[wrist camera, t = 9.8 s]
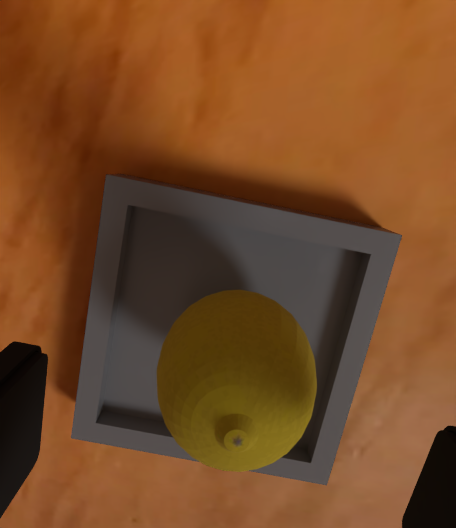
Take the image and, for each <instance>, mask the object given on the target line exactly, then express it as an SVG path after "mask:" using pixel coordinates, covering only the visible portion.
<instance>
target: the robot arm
mask: <svg viewBox="0 0 456 528" xmlns="http://www.w3.org/2000/svg"><path fill="white" fill-rule="evenodd" d="M47 364H48V356H47V354H44V353H42V351H41V348H40V346H36V345H31V344H26V343H21V342H12V343H11V344H9V345H8V346H7V347H6V348H5V349H4V350H2V351H1V352H0V518H1V517H2V515H3V513H4V512H5V510H6V509H7V507H8V506H9V504H10V503H11V501H12V499H13V498H14V496H15V495H16V493H17V492H18V490H19V489H20V487H21V486H22V484H23V482H24V481H25V479H26V478H27V476H28V475H29V473H30V472H31V470H32V468H33V467H34V465H35V463H36V461H37V458H38V455H39V451H40V442H41V431H42V419H43V408H44V397H45V386H46V375H47ZM402 528H456V427H455V426H447V427H446V428H445V429H444V430H441V431H439V432H438V433H437V435H436V437H435V439H434V442H433V444H432V446H431V449H430V451H429V454H428V456H427V459H426V461H425V464H424V466H423V469H422V471H421V474H420V476H419V479H418V481H417V484H416V486H415V489H414V491H413V494H412V496H411V498H410V501H409V503H408V506H407V508H406V511H405V513H404V516H403V519H402Z"/></svg>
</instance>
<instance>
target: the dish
mask: <svg viewBox="0 0 456 528" xmlns="http://www.w3.org/2000/svg"><path fill="white" fill-rule="evenodd" d="M401 237H402V235H400V234H398V233H395V232H392V231H390V230H387V229H385V228H382V227H377V226H372V225H367V224H362V223H357V222H353V221H348V220H343V219H338V218H333V217H328V216H324V215H319V214H314V213H309V212H304V211H299V210H294V209H290V208H285V207H280V206H275V205H270V204H265V203H260V202H256V201H251V200H246V199H241V198H236V197H231V196H226V195H222V194H217V193H212V192H207V191H202V190H197V189H192V188H188V187H183V186H178V185H173V184H168V183H163V182H158V181H154V180H149V179H144V178H139V177H134V176H129V175H125V174H106V179H105V186H104V194H103V201H102V209H101V217H100V224H99V232H98V239H97V247H96V254H95V262H94V269H93V277H92V284H91V292H90V299H89V307H88V314H87V322H86V329H85V337H84V344H83V352H82V359H81V367H80V375H79V382H78V390H77V397H76V405H75V412H74V420H73V427H72V435H71V438H73V439H78V440H84V441H89V442H95V443H100V444H106V445H111V446H116V447H122V448H127V449H133V450H138V451H144V452H149V453H154V454H160V455H165V456H171V457H176V458H182V459H187V460H192V461H198V460H196V459H194V458H192V457H191V456H190V455H189V454H188V453H187V452H186V451H185V450H184V449H182V448H181V447H180V446H179V445H178V444H177V443H176V441H175V439H174V438H173V436H172V435H171V433H170V432H169V430H168V429H167V427H166V424H165V422H164V419H163V416H162V413H161V410H160V407H159V403H158V396H157V365H158V361H159V357H160V353H161V349H162V345H163V342H164V340H165V338H166V336H167V335H168V333H169V331H170V329H171V327H172V325H173V324H174V322H175V321H176V320H177V319H178V318H179V317H180V315H181V314H182V313H183V312H184V311H185V310H186V309H187V308H188V307H189V306H190V305H192V304H194V303H195V302H197V301H199V300H200V299H202V298H204V297H205V296H208V295H211V294H214V293H218V292H221V291H225V290H245V291H251V292H256V293H259V294H262V295H264V296H266V297H268V298H270V299H272V300H275V301H276V302H277V303H278V304H280V305H281V306H282V307H283V308H285V309H286V310H287V311H288V312H290V313H291V314H292V315H293V317H294V318H295V320H296V321H297V322H298V324H299V325H300V326H301V328H302V329H303V331H304V332H305V334H306V336H307V339H308V341H309V344H310V347H311V349H312V352H313V355H314V359H315V368H316V379H317V391H316V397H315V402H314V407H313V412H312V416H311V419H310V421H309V423H308V425H307V427H306V429H305V431H304V433H303V435H302V437H301V438H300V439H299V441H298V442H297V443H296V444H295V445H294V446H293V447H292V449H291V450H290V451H289V452H288V453H287V454H285V455H284V456H282V457H281V458H280V459H278V460H277V461H275V462H274V463H272V464H269V465H267V466H264V467H261V468H259V469H255V470H248V471H252V472H258V473H263V474H268V475H274V476H279V477H285V478H290V479H296V480H301V481H306V482H312V483H317V484H323V485H327V483H328V479H329V476H330V473H331V469H332V466H333V463H334V460H335V456H336V453H337V450H338V446H339V443H340V440H341V436H342V433H343V430H344V426H345V423H346V420H347V416H348V413H349V410H350V406H351V403H352V400H353V397H354V393H355V390H356V387H357V383H358V380H359V377H360V373H361V370H362V367H363V363H364V360H365V357H366V353H367V350H368V347H369V343H370V340H371V337H372V333H373V330H374V327H375V324H376V320H377V317H378V314H379V310H380V307H381V304H382V300H383V297H384V294H385V290H386V287H387V284H388V280H389V277H390V274H391V270H392V267H393V264H394V260H395V257H396V254H397V251H398V247H399V244H400V241H401ZM198 462H199V461H198Z"/></svg>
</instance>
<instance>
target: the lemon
mask: <svg viewBox="0 0 456 528" xmlns="http://www.w3.org/2000/svg"><path fill="white" fill-rule="evenodd" d="M316 391H317V379H316V368H315V359H314V355H313V352H312V349H311V347H310V344H309V341H308V339H307V336H306V334H305V332H304V331H303V329H302V328H301V326H300V325H299V324H298V322H297V321H296V320H295V318H294V317H293V315H292V314H291V313H290V312H288V311H287V310H286V309H285V308H283V307H282V306H281V305H280V304H278V303H277V302H276V301H275V300H272V299H270V298H268V297H266V296H264V295H262V294H259V293H256V292H251V291H245V290H225V291H221V292H218V293H214V294H211V295H208V296H205V297H204V298H202V299H200V300H199V301H197V302H195V303H194V304H192V305H190V306H189V307H188V308H187V309H186V310H185V311H184V312H183V313H182V314H181V315H180V317H179V318H178V319H177V320H176V321H175V322H174V324H173V325H172V327H171V329H170V331H169V333H168V335H167V336H166V338H165V340H164V342H163V345H162V349H161V353H160V357H159V361H158V365H157V396H158V403H159V407H160V410H161V413H162V416H163V419H164V422H165V424H166V427H167V429H168V430H169V432H170V433H171V435H172V436H173V438H174V439H175V441H176V443H177V444H178V445H179V446H180V447H181V448H182V449H184V450H185V451H186V452H187V453H188V454H189V455H190V456H191V457H192V458H194V459H196V460H198V461H199V462H201V463H203V464H205V465H207V466H210V467H213V468H216V469H220V470H223V471H237V472H242V471H248V470H255V469H259V468H261V467H264V466H267V465H269V464H272V463H274V462H275V461H277V460H278V459H280V458H281V457H282V456H284V455H285V454H287V453H288V452H289V451H290V450H291V449H292V447H293V446H294V445H295V444H296V443H297V442H298V441H299V439H300V438H301V437H302V435H303V433H304V431H305V429H306V427H307V425H308V423H309V421H310V419H311V416H312V412H313V407H314V402H315V397H316Z"/></svg>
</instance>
